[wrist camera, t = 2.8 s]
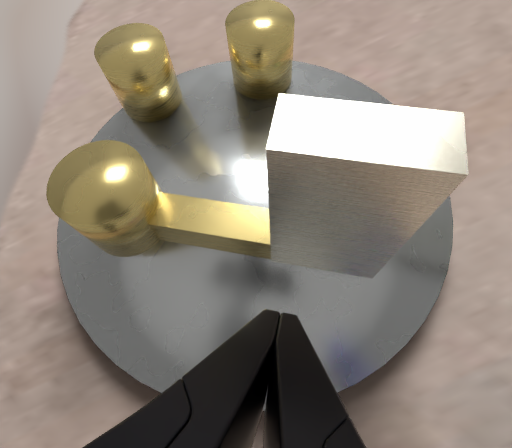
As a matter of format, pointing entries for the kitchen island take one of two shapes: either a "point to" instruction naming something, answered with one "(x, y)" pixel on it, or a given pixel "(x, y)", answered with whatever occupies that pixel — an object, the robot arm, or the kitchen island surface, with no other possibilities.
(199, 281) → the base
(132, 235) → the lever
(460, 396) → the kitchen island surface
